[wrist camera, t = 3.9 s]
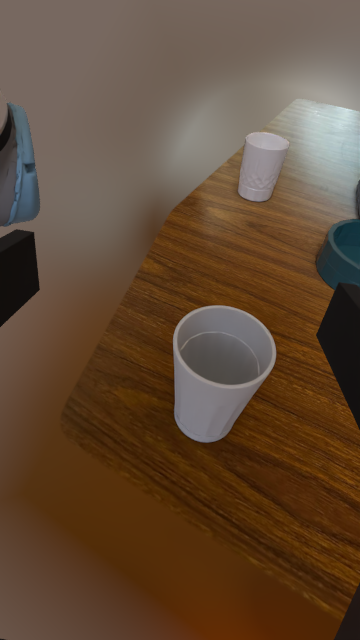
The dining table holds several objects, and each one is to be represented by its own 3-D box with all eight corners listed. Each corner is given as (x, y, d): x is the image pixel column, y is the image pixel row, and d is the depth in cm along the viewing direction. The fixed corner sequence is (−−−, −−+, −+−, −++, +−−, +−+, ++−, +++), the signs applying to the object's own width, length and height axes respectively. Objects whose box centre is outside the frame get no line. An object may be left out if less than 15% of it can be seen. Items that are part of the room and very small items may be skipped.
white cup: (229, 184, 68) (239, 132, 61) (264, 183, 70) (278, 132, 62) (242, 204, 63) (255, 150, 56) (280, 202, 65) (297, 149, 57)
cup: (166, 451, 32) (174, 388, 23) (165, 378, 37) (172, 303, 28) (248, 450, 32) (287, 389, 23) (236, 379, 37) (264, 306, 28)
